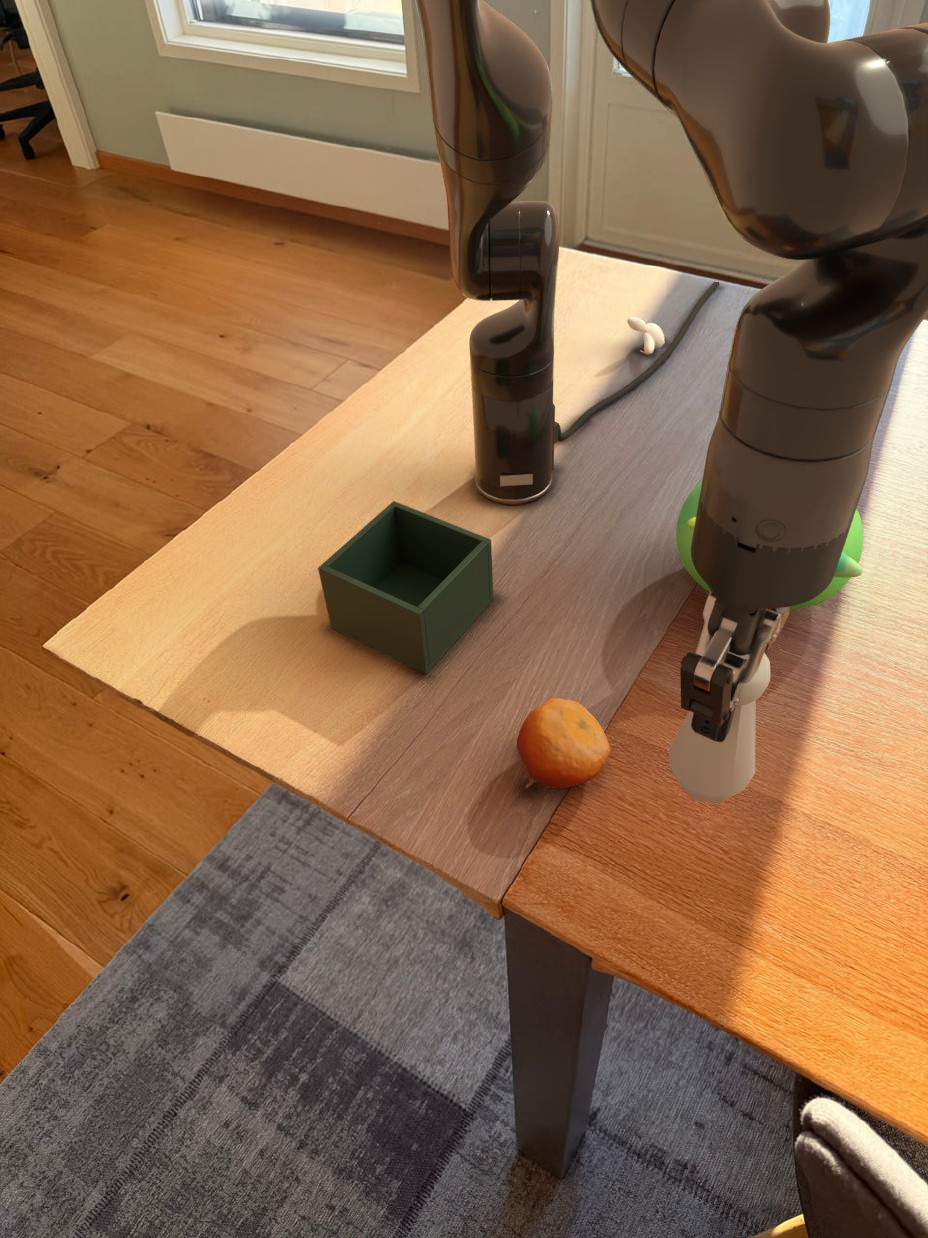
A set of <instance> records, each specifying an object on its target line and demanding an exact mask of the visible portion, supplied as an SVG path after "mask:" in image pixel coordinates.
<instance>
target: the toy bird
mask: <svg viewBox="0 0 928 1238" xmlns="http://www.w3.org/2000/svg"><path fill="white" fill-rule="evenodd" d="M701 485H702V481H700V482H699V483H698V484H697V485H695V487H694V488H693V489H692V491H691V492H690V493H689V494H688V495H687V497H686V499H685V501H684V502H683V504H682V506H681V509H680V511H679V515H678V518H677V522H676V534H675V536H676V537H675V539H676V546H677V551H678V554H679V557H680V560H681V563H682V564H683V566H684V568H685V569H686V571H687V573H688V574H689V575H690V576H691V578H692V579H693V580H694V581H695V582H696V583H697V584H699V586H700V587H702V588H703V589H705V590H706V591H707V592H708V593H710V592H711V589H710V588H709V587H708V585H707V584H706V583H705V582H704V581H703V579H702V578H701V577H700V575H699V574H698V573H697V571H696V569H695V567H694V565H693V562H692V558H691V543H692V538H693V532H694V526H695V520H696V515H697V509H698V503H699V497H700V491H701ZM864 537H865V536H864V526H863V523H862V518H861V515H860V513H859V511H858V508H857V509H856V512H855V515H854V518H853V521H852V524H851V527H850V530H849V533H848V536H847V539H846V542H845V545H844V548H843V551H842V554H841V557H840V560H839V563H838V566H837V569H836V572H835V575H834V577H833V579H832V581H831V583H830V584H829V586H828V587H827V588H826V589H825V590H824V591H823V592H822V593H821V594H820V595H818V596H817V597H815V598H813V599H812V600H810V601H807V602H805V603H802V604H799V605H795V606H791V607H790V611H794V610H800V609H801V610H802V609H805V608H809V607H812V606H816V605H817V604H819V603H822V602H825V601H826V600H828V599H829V598H831V597H832V596H834V595H835V594H837V593H838V592H839V591H840V590H841V589H843V587H844V586H845V585H846V584H848V582H849V581H850V580H851V578H856V577H859V576H861V575H862V574H863V571H864V570H863V567H862V566H861V564H859V563H860V562H861V561H860V560H861V558H862V554H863V549H864V540H865V538H864Z"/></svg>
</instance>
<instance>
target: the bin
mask: <svg viewBox="0 0 928 1238" xmlns="http://www.w3.org/2000/svg"><path fill="white" fill-rule="evenodd" d="M317 571H318V576H319V581H320V583H321V588H322V593H323V597H324V602H325V606H326V610H327V615H328V620H329V624H330V628H331V629H333V630H334V631H336V632H338V633H339V634H341V635H344V636H346V637H349V638H350V639H353V640H355V641H356V642H359V643H361V644H363V645H365V646H367V647H369V648H371V649H373V650H375V651H377V652H379V653H381V654H383V655H385V656H386V657H389V658H390V659H393V660H395V661H397V662H399V663H402V664H403V665H406V666H407V667H410V668H411V669H414V670H416V671H418V672H420V673H422V674H424V675H428V673H430V671H431V670H432V669H433V668H434V666H436V665H437V663H438V662H440V660H441V659H442V658H443V657H444V656H445V655H446V653H448V651H449V650H450V649H451V648H452V647H453V646H454V645H455V644H456V642H457V641H458V640H459V639H460V638H462V636H463V635H464V634H465V633H466V632H467V630H468V629H469V628H470V627H471V626H472V625H474V623H475V622H476V620H478V619H479V617H480V616H481V615H482V614H483V612H485V611H486V610H487V608H488V607H489V606H490V605H491V604H492V603H493V602H494V580H493V552H492V539H491V538H489V537H486V536H484V535H481V534H479V533H475V532H473V531H471V530H468V529H466V528H463V527H461V526H458V525H456V524H453V523H450V522H448V521H446V520H444V519H440V518H438V517H436V516H433V515H431V514H428V513H425V512H423V511H420V510H418V509H415V508H413V507H411V506H408V505H405V504H404V503H400V502H397V501H395V500H392V501H391V503H389V504H388V505H387V506H386V507H385V508H384V509H382V510H381V512H379V513H378V514H376V516H375V517H373V518H372V519H371V520H370V521H369V522H368V523H367V524H365V525H364V526H363V527H362V528H361V529H360V530H359V531H357V532H356V534H355V535H353V536H352V537H351V538H350V539H349V540H348V541H346V542H345V543H344V544H343V545H342V546H341V547H340V548H338V550H337V551H335V552H334V553H333V554H331V556H330V557H328V558H327V559H326V560H325V561H324V562H323V563H322V564H320V565H319V566H318V567H317Z"/></svg>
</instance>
